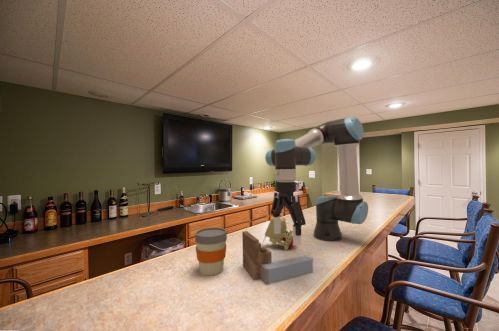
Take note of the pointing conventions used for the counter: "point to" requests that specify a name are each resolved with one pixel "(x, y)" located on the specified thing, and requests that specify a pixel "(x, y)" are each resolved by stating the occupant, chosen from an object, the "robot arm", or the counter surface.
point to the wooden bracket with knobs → (254, 255)
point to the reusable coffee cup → (211, 250)
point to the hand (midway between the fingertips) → (286, 238)
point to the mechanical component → (281, 236)
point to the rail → (286, 269)
